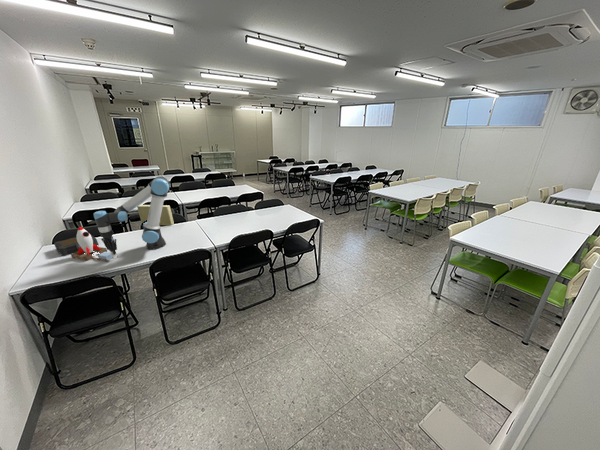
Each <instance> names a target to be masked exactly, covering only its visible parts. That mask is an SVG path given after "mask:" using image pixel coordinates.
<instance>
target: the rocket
mask: <svg viewBox="0 0 600 450" xmlns="http://www.w3.org/2000/svg"><path fill="white" fill-rule="evenodd" d="M90 234H91V233H90V232H88V231H87V230H86V229H85V228H83V227H81V226H79V227H78V229H77V232H76V237H77V241H78V243H79V245H80V248H79V250H78V255H80V254H81V253H82V252H84V251H85V252H86V253H87V255H90V254H93V253H94V252H93V250H95V251H96V250H100V248H99V247H100V246H99V245H98V246H97V245H95V244H93V240H92V237H91V235H92V234H91V235H90Z"/></svg>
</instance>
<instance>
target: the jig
mask: <svg viewBox="0 0 600 450" xmlns="http://www.w3.org/2000/svg"><path fill="white" fill-rule="evenodd" d="M98 247H99V248H100V250H98V251H99V253H100V254H101V253H103V252H108V250H107V248H106V247H102V246H98ZM95 251H96V250H95ZM96 252H97V251H96ZM84 253H85V254H84ZM94 253H95V252H94ZM97 253H98V252H97ZM93 255H94V254H93ZM70 257H71V258H72V259H74V260H81V261H84V262H87V261H91V260H92V259H93V260H96V259H97V261H101V260H102V261H101V262H107V263H109V262H110V259H109V260H105V259H100V258H99V257H96V256H92V254H90V255H87V253H86V252H85V251H84V252H82V253H81V254H80V255H78V252H75V253H73V254H70ZM116 258H119V255H117V257H116ZM108 261H109V262H108Z"/></svg>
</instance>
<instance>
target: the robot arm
mask: <svg viewBox="0 0 600 450" xmlns="http://www.w3.org/2000/svg"><path fill="white" fill-rule="evenodd" d="M169 190H170V182H169V180H168V179H167V178H166V177H164V176H156V177H155V178H153V180H151V181H150V182H149V183H148V184H147V186H146V187H145V188H143V189H141V190H140V191H139V192H138V193H136V194H135V195H133V196H132V197H131V198H130V199H128V200H126V202H124V203H123V204H122V205H120V206H118V207H116V209H115V210H114V212H107V211H106V210H98V211H95V212H93V218H94V220H95V224H96V226H97V229H98V231H99V235H100V236H101V239H100V240H101V241H102V242H103V244H104V246H105V248H106V249H107V251H108V252H110V253H111V255H112V258H111V259H116V258H118V257H117V256H118V255H117V252H116V251H117V250H118V245H117V239H114V236H113V235H114V231H113V230H112V226H111V224H112V223H118V222H119V223H120V222H127V221H128V219H129V218H128V214H129V213H130V212H131V211H133V210H134V209H135V208H137V206H138V205H142V204H143V203H144V202H145V201H146V200H148V199H150V198H151V199H150V203H149V205H150V209H149V215H148V220H147V222H145V223H143V225H142V228H143V230H142V235H141V239H142V241H144V242H145V243H146V245H145V247H146V248H147V249H148V250H157V249H161V248H163V247H165V246H166V245H167V243H166V240H165V238H164V237H163V235H162V232H161V228H162V227H161V225H159V222H160V217H161V212H162V207H163V205H164V202H165V199H166V198H167V197H168V193H169V192H168V191H169Z"/></svg>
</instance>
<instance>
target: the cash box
mask: <svg viewBox="0 0 600 450" xmlns="http://www.w3.org/2000/svg"><path fill="white" fill-rule="evenodd" d="M89 234H90V235H91V237H92V240H93V244H95V245H98V246H99V242H98V239H97V238H96V237H95V236H93V235H92V234H91V233H89ZM53 245H54V247H55V250H56V251H57V252H58V253H59V254H60V255H61V257H66V256H69V255H71V254H73V253H75V252H78V250H79V248H80V245H79V243H78V241H77V236H74V237H70V238H67V239H64V240H63V239H62V240H59V241H55V242H54V243H53Z"/></svg>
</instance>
